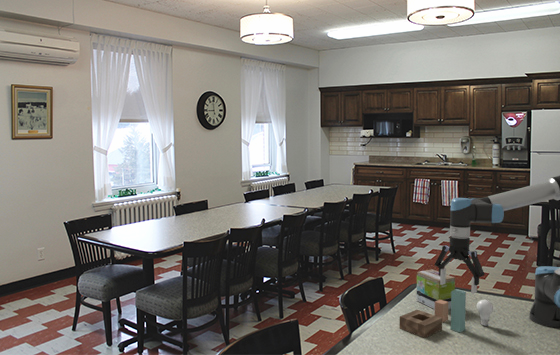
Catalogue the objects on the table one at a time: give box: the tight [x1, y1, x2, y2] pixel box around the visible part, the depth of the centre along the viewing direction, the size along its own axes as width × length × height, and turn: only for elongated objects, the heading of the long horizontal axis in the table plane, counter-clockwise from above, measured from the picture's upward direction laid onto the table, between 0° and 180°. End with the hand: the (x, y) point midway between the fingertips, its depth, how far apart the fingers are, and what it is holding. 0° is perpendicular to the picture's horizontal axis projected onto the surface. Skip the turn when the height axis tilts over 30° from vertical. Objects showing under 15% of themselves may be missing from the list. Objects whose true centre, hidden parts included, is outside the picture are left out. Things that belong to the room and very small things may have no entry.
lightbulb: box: [476, 298, 494, 327], centre depth 191 cm, size 6×6×11 cm
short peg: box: [434, 300, 449, 323], centre depth 198 cm, size 4×4×8 cm
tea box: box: [416, 268, 456, 310], centre depth 215 cm, size 15×10×15 cm, turn 25°
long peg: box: [450, 288, 467, 333], centre depth 187 cm, size 4×4×16 cm
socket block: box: [399, 309, 443, 339], centre depth 188 cm, size 12×12×5 cm
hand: (457, 288), depth 186 cm, fingers open, 13 cm apart
